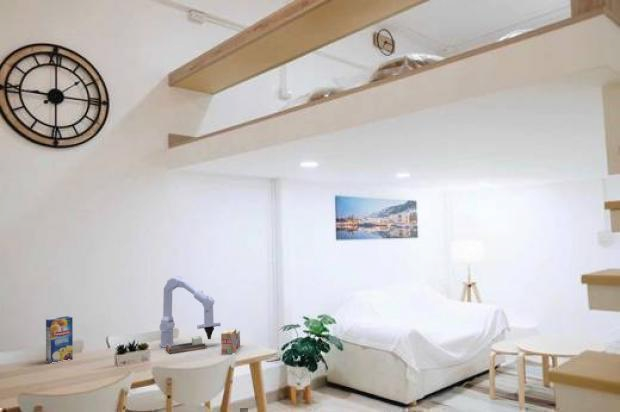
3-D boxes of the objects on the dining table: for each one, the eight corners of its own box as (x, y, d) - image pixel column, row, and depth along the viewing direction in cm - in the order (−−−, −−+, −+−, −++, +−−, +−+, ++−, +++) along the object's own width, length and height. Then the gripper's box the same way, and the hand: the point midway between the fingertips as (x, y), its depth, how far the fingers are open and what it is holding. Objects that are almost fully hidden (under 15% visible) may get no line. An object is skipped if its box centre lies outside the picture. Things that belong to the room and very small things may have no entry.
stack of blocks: (230, 345, 304) (230, 325, 305) (240, 345, 304) (239, 325, 304) (221, 354, 283) (220, 333, 284) (231, 354, 282) (231, 333, 283)
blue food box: (67, 357, 286) (67, 316, 288) (72, 359, 281) (72, 317, 283) (45, 361, 278) (45, 319, 279) (50, 363, 273) (50, 320, 274)
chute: (165, 350, 297) (165, 343, 297) (200, 344, 308) (200, 338, 308) (170, 354, 286) (170, 347, 287) (206, 348, 297) (206, 342, 298)
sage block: (191, 345, 302) (191, 337, 302) (199, 344, 304) (199, 336, 304) (194, 347, 297) (194, 338, 298) (202, 345, 300) (202, 337, 300)
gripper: (199, 319, 298) (199, 341, 298) (221, 316, 306) (222, 338, 305) (196, 317, 304) (196, 339, 304) (218, 315, 312) (218, 336, 311)
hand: (209, 339), depth 305 cm, fingers closed
